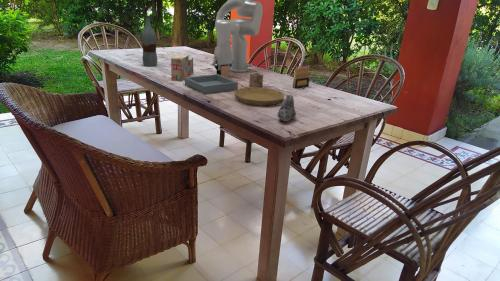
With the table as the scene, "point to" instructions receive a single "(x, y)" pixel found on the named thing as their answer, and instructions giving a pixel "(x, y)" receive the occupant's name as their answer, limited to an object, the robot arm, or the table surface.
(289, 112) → the mineral rock
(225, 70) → the terracotta block
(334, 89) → the table surface
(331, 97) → the table surface
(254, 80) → the walnut block
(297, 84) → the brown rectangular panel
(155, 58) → the bottle
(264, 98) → the plant saucer
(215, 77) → the tray
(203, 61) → the table surface
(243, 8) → the robot arm
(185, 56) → the stack of blocks
